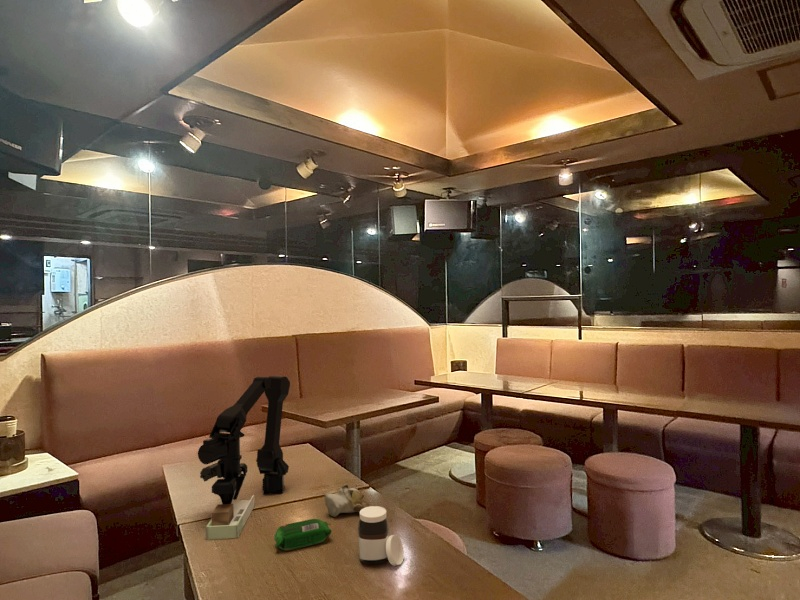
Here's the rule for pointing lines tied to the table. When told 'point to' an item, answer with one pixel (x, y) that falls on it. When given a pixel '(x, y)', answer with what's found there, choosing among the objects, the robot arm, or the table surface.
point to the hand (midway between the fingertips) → (231, 505)
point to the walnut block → (222, 514)
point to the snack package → (301, 534)
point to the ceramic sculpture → (345, 501)
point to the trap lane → (236, 525)
